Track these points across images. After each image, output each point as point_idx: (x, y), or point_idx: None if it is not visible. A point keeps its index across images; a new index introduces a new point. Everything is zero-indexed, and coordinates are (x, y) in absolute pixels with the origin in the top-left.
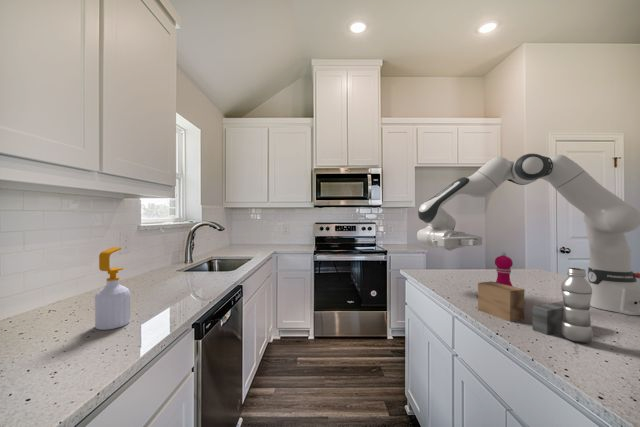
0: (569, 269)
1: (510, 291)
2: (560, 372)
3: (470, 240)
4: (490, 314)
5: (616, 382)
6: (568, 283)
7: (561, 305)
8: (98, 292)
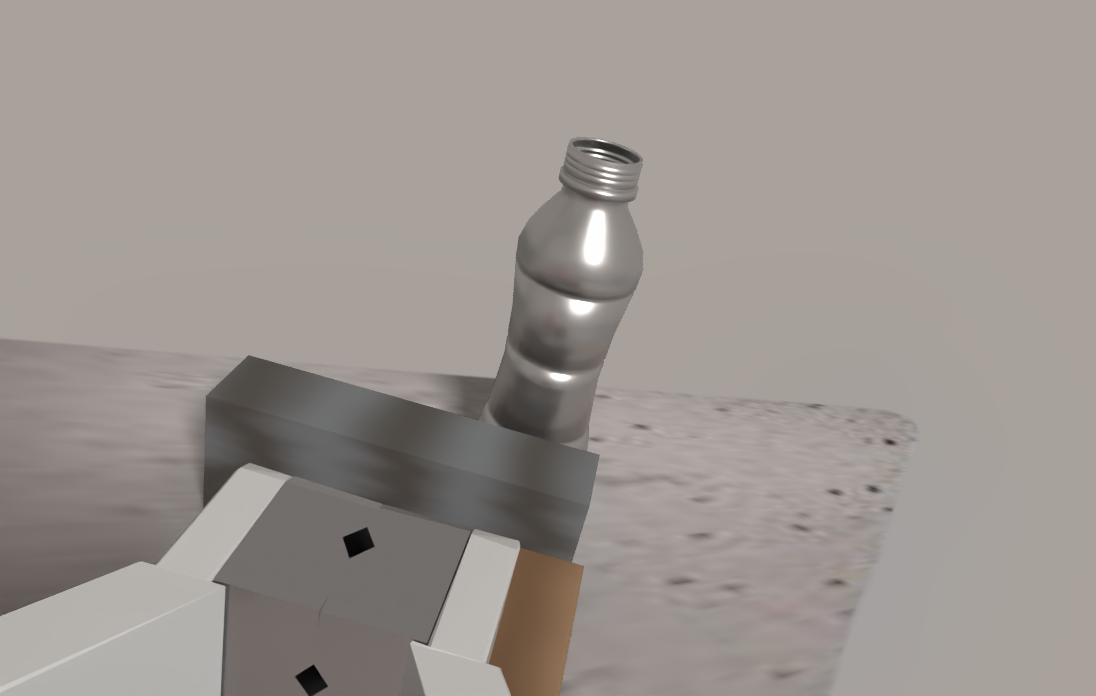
0: (635, 168)
1: (577, 566)
2: (872, 499)
3: (387, 622)
4: None
5: (767, 418)
6: (639, 245)
7: (403, 417)
8: None
